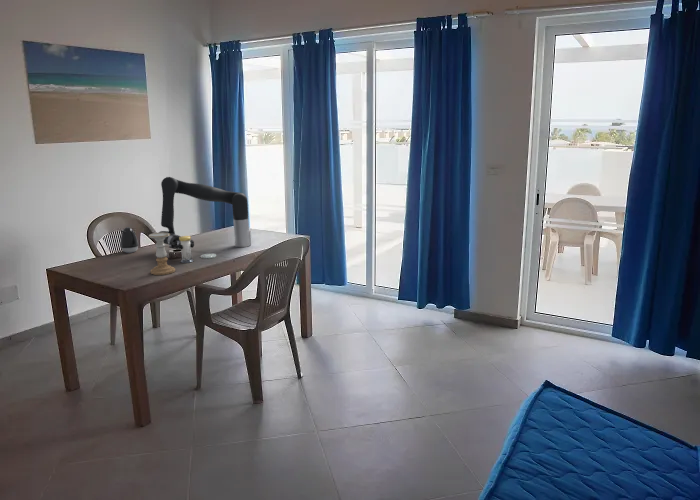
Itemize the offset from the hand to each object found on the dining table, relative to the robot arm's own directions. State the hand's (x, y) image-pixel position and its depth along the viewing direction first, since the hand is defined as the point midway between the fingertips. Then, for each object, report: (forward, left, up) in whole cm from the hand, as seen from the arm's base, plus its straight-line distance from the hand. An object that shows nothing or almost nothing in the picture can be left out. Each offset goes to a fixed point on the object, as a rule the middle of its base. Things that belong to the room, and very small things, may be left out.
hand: (187, 246), depth 294 cm
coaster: (-14, -6, -9) cm, 18 cm away
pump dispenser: (+18, -48, -9) cm, 52 cm away
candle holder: (+18, +10, -9) cm, 23 cm away
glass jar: (0, -3, -7) cm, 7 cm away
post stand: (0, -3, -9) cm, 9 cm away
